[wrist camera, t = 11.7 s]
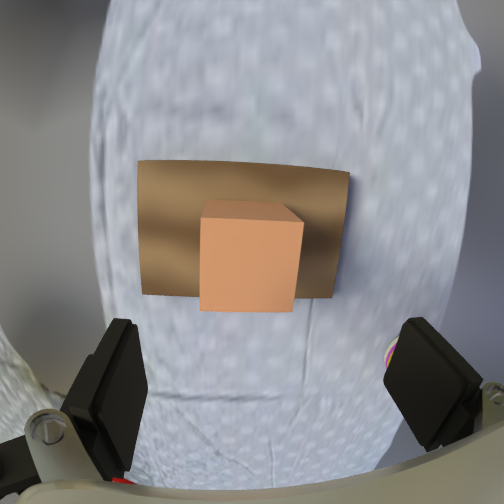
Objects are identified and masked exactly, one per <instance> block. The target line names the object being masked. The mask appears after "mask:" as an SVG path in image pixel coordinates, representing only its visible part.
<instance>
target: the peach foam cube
mask: <svg viewBox="0 0 504 504" xmlns="http://www.w3.org/2000/svg"><path fill="white" fill-rule="evenodd" d="M303 227H304V222H303V221H302V220H301V219H299V218H298V217H297V216H296V215H295V214H294V213H292V212H291V211H290V210H289V209H288V208H287V207H285V206H284V205H283V204H282V203H272V202H254V201H235V200H211V199H206V202H205V205H204V208H203V212H202V215H201V226H200V311H217V312H292V310H293V303H294V296H295V289H296V282H297V275H298V267H299V260H300V252H301V244H302V236H303Z"/></svg>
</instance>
